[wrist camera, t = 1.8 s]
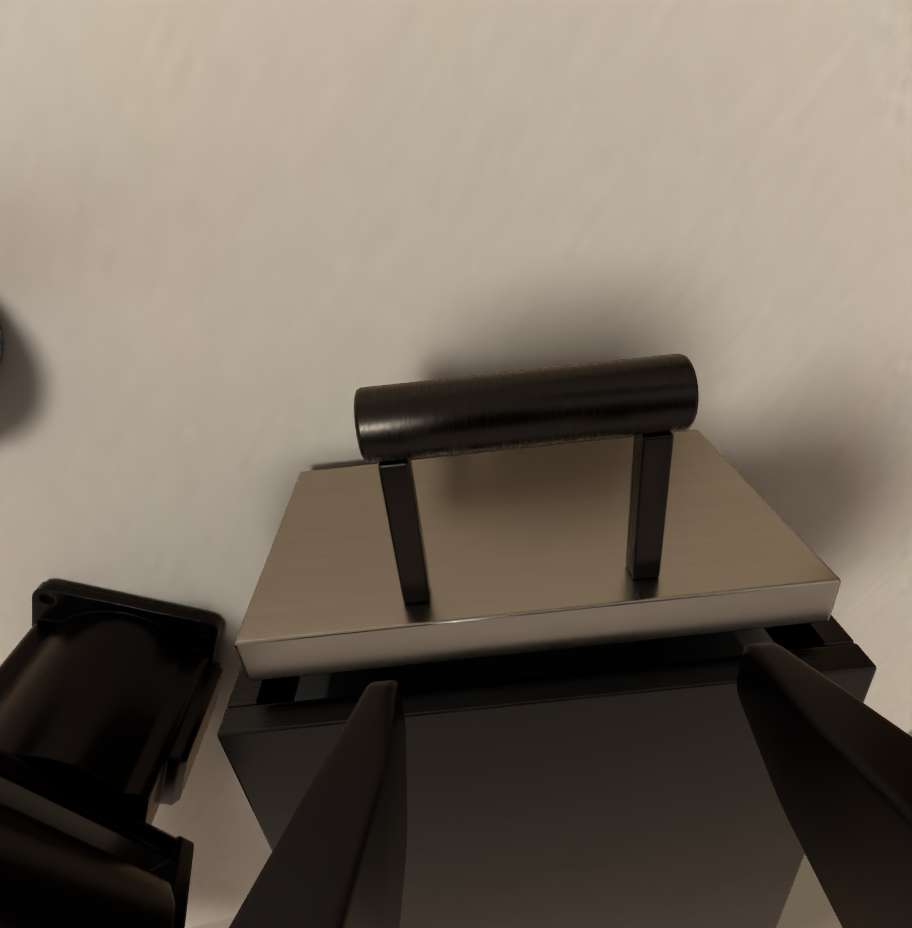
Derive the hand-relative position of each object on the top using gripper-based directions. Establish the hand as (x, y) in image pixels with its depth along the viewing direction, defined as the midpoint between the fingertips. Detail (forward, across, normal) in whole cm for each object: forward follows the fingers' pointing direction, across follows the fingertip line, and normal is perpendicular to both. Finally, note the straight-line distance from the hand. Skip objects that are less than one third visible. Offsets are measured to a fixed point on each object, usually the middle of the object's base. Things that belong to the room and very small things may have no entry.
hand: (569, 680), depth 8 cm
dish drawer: (+10, 0, +5) cm, 11 cm away
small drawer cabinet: (+11, 0, +10) cm, 15 cm away
